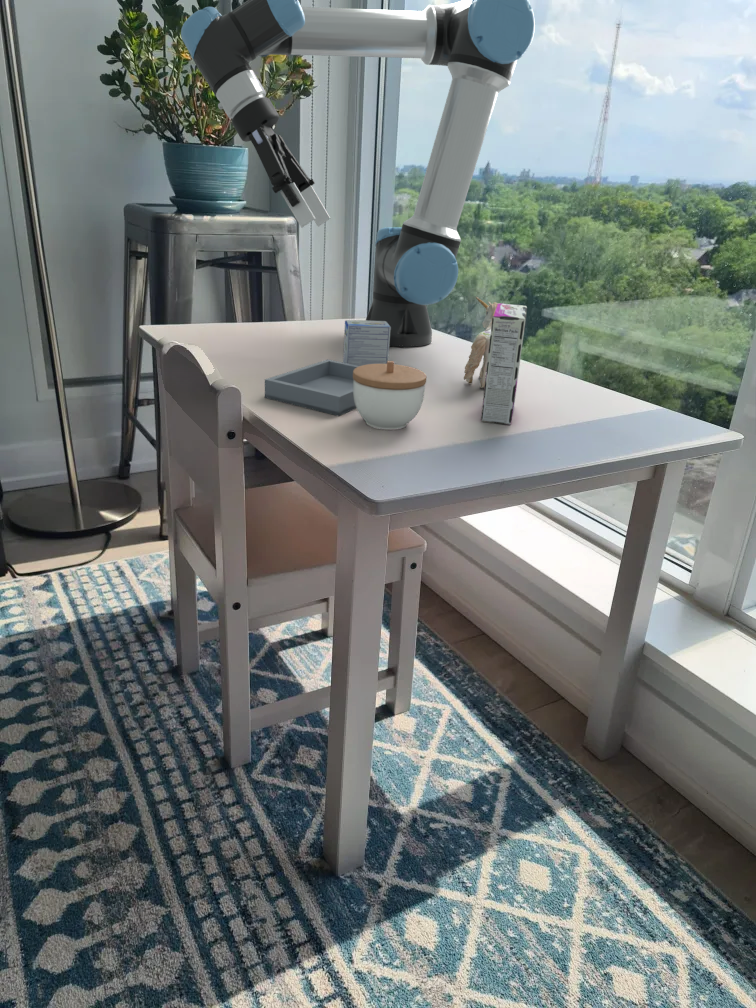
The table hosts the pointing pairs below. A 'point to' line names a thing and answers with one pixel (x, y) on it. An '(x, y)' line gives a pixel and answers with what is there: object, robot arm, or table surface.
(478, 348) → the unicorn figurine
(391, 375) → the lidded jar
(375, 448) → the table surface
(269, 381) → the slate tray
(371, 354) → the medicine box
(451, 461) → the table surface
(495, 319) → the candy bar box
